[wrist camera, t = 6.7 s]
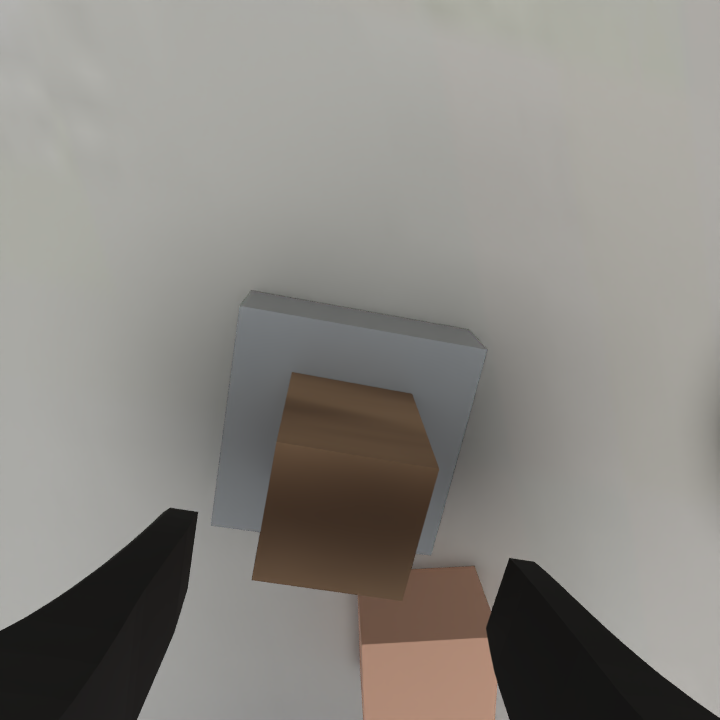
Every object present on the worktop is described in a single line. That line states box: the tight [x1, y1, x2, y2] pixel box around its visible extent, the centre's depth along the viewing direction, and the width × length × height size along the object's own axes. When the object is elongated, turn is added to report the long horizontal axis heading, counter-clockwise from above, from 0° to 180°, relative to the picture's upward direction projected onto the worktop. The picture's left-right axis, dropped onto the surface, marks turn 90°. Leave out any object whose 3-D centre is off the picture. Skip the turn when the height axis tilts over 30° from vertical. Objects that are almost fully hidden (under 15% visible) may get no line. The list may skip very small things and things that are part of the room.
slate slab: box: [211, 290, 487, 555], centre depth 20 cm, size 8×8×3 cm
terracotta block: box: [358, 566, 497, 720], centre depth 23 cm, size 5×5×4 cm
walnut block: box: [252, 372, 439, 601], centre depth 16 cm, size 4×4×5 cm
